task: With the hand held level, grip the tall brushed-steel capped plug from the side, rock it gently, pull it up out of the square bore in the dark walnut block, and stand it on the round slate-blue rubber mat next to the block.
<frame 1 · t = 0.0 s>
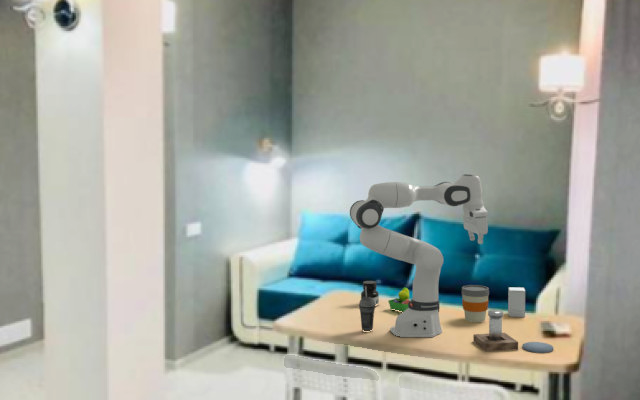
hand: (476, 241, 310), 39 cm above the table, tool pointing down, fingers open, 8 cm apart
steel plug: (495, 328, 289), in the walnut socket block
fruit basket: (402, 311, 346), on the table
ink bottle: (369, 305, 358), on the table
slate rubber mat: (537, 348, 285), on the table
supplement box: (516, 315, 336), on the table
walnut socket block: (495, 345, 289), on the table
reusable coffee cup: (475, 320, 329), on the table
beverage cup: (367, 331, 312), on the table
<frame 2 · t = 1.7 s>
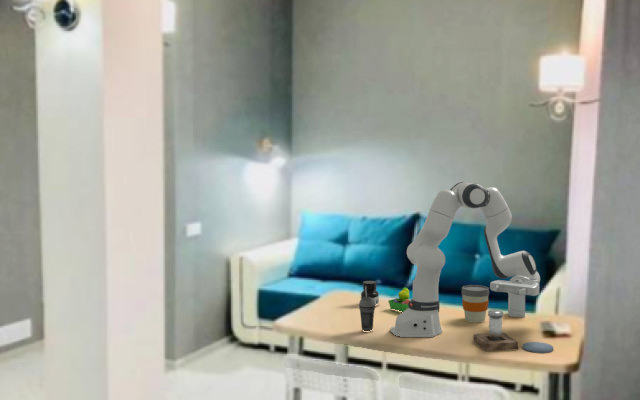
hand: (507, 291, 297), 20 cm above the table, tool horizontal, fingers open, 8 cm apart
nothing on the table moved.
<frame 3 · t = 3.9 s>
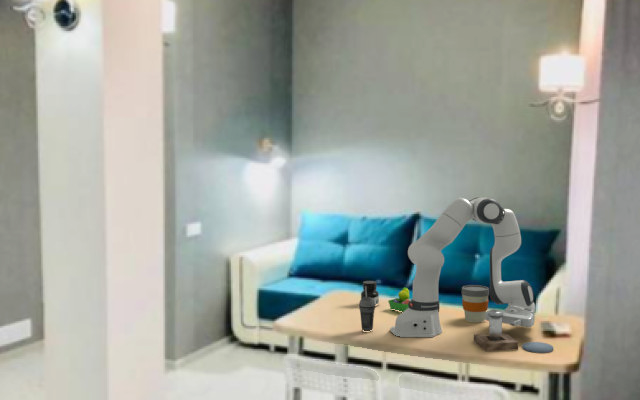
hand: (502, 322, 294), 8 cm above the table, tool horizontal, fingers open, 8 cm apart
nothing on the table moved.
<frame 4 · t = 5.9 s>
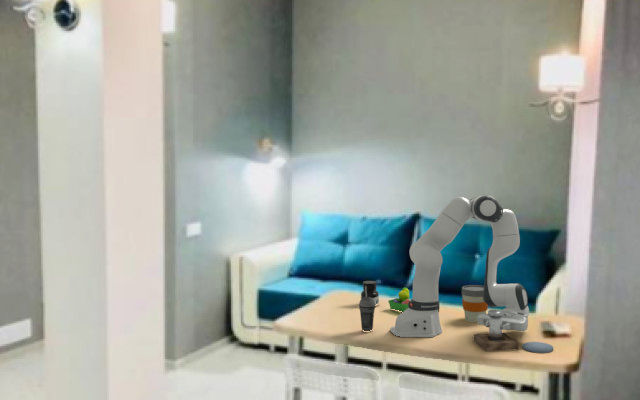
hand: (494, 326, 288), 8 cm above the table, tool horizontal, fingers closed on steel plug, 5 cm apart
steel plug: (495, 328, 289), in the walnut socket block, touching gripper
everything else where it was.
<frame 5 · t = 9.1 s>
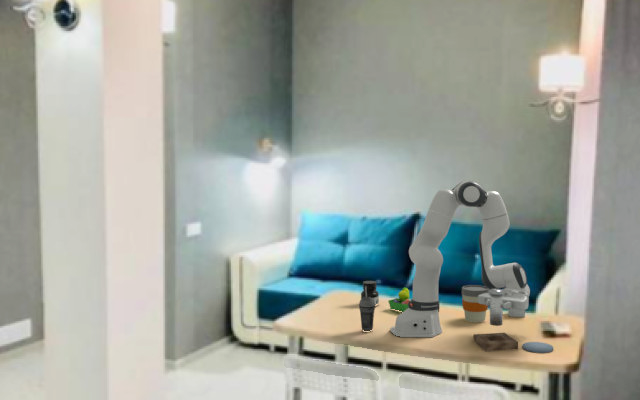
hand: (495, 305, 287), 17 cm above the table, tool horizontal, fingers closed on steel plug, 5 cm apart
steel plug: (496, 307, 288), point 16 cm above the table, touching gripper
everything else where it was.
when the fingers open (10 cm above the table, at t = 12.2 s): steel plug drops 1 cm, resting on slate rubber mat.
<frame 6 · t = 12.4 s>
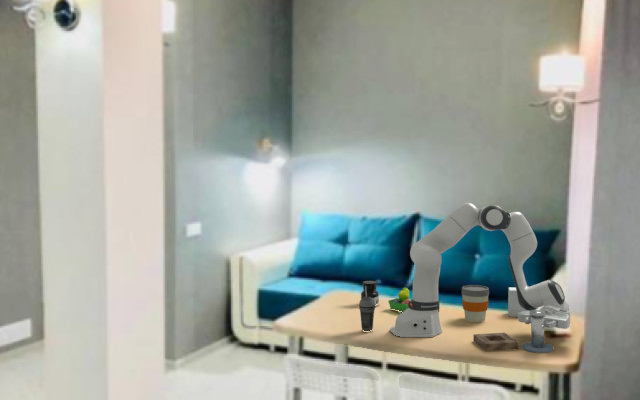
hand: (537, 323, 283), 10 cm above the table, tool horizontal, fingers open, 7 cm apart
steel plug: (537, 329, 284), on the slate rubber mat, point 8 cm above the table
everything else where it was.
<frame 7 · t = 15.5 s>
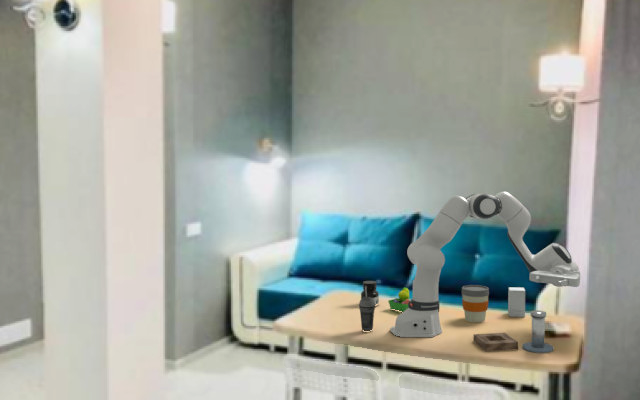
hand: (548, 282, 292), 25 cm above the table, tool horizontal, fingers open, 8 cm apart
nothing on the table moved.
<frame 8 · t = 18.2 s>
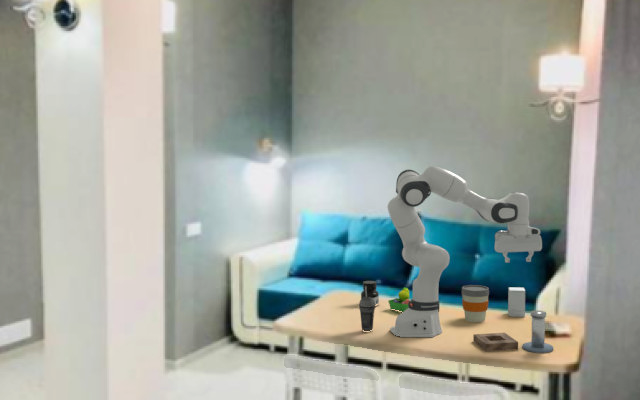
hand: (517, 262, 303), 31 cm above the table, tool pointing down, fingers open, 8 cm apart
nothing on the table moved.
at the end: steel plug 0.0 cm off-centre on the slate rubber mat, point 7.8 cm above the slate rubber mat's base; steel plug tilted 0°; the gripper is holding nothing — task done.
